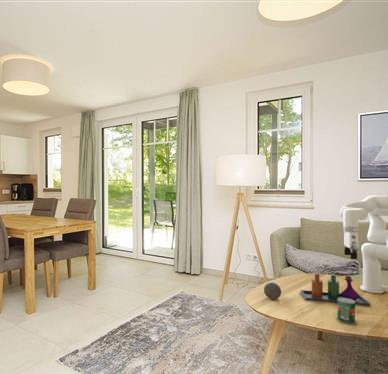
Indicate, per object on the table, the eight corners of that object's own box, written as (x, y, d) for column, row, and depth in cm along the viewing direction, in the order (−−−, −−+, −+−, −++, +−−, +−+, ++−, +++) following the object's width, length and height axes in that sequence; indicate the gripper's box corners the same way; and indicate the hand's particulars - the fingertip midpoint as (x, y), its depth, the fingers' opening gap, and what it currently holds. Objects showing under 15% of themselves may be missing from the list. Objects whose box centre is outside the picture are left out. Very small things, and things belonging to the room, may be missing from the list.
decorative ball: (265, 294, 197) (265, 279, 197) (281, 297, 192) (282, 281, 192) (262, 299, 188) (262, 283, 188) (280, 303, 183) (280, 286, 183)
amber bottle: (320, 296, 192) (321, 272, 192) (323, 299, 186) (323, 275, 186) (310, 295, 194) (310, 271, 194) (312, 298, 188) (313, 274, 188)
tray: (360, 298, 189) (360, 295, 189) (369, 307, 176) (370, 303, 176) (300, 293, 199) (300, 290, 199) (305, 301, 186) (305, 297, 186)
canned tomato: (334, 316, 165) (335, 296, 164) (351, 318, 162) (351, 298, 162) (340, 323, 157) (340, 302, 157) (357, 325, 155) (357, 303, 154)
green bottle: (337, 297, 190) (337, 273, 189) (340, 301, 184) (340, 276, 184) (326, 296, 191) (326, 273, 191) (329, 300, 186) (329, 275, 185)
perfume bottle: (352, 303, 181) (352, 273, 180) (339, 298, 187) (339, 270, 187) (359, 300, 184) (360, 271, 183) (346, 296, 191) (347, 268, 190)
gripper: (363, 231, 175) (363, 261, 175) (352, 227, 191) (352, 253, 192) (349, 231, 177) (348, 260, 177) (338, 226, 193) (338, 253, 194)
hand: (350, 256), depth 185 cm, fingers open, 9 cm apart
